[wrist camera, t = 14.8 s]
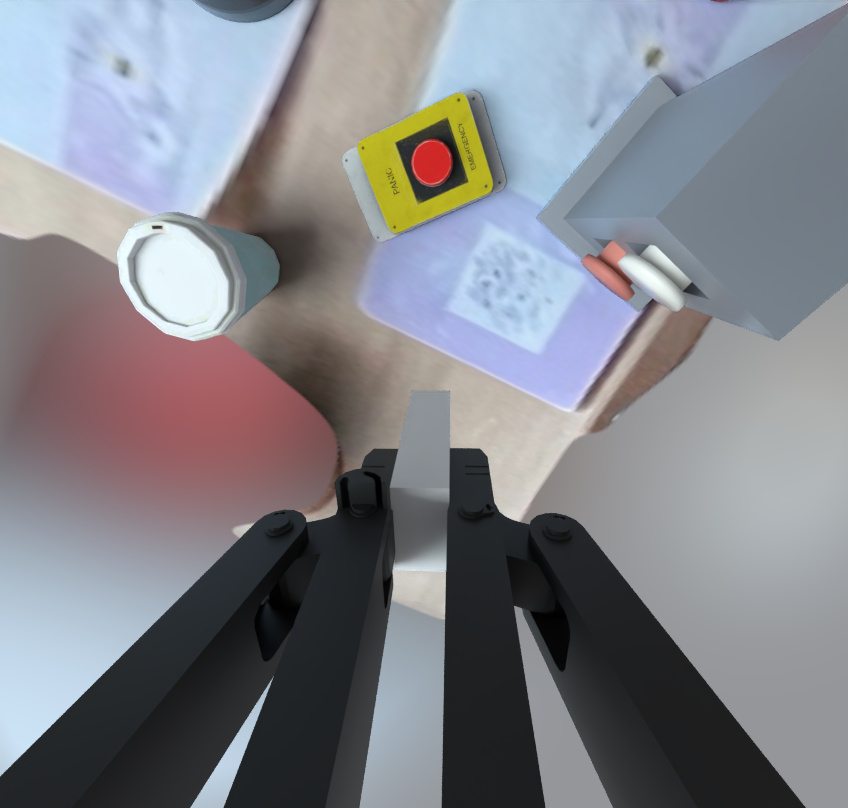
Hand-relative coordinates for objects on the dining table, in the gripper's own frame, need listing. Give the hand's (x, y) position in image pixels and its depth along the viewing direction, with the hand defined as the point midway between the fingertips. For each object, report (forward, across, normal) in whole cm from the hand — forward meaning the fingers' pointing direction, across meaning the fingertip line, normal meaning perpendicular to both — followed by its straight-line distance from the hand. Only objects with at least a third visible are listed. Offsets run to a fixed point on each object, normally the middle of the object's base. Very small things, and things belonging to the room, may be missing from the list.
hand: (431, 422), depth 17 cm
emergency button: (+35, -2, +12) cm, 37 cm away
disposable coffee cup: (+34, -22, +3) cm, 41 cm away
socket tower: (+34, +20, +8) cm, 40 cm away
